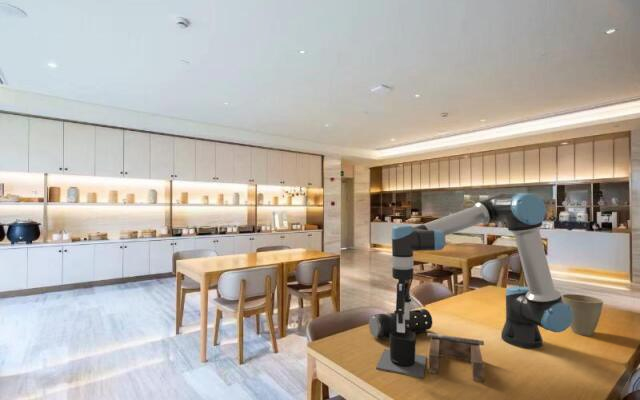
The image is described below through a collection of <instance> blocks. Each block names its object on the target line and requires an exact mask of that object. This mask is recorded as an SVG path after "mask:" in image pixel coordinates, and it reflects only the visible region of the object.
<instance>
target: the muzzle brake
mask: <svg viewBox="0 0 640 400" xmlns="http://www.w3.org/2000/svg"><path fill="white" fill-rule="evenodd" d="M432 327H433V318H432V314H431V313H430V311H429V310H428V309H425V308H421V309H420V308H419V309H414V310H409V320H406V319H405V330H408V331H411V332H413V333H415V334H417V333H423V332H426V331H427V330H431V328H432ZM368 328H369V329H368V330H369V331H370V334H371V335H372V336H373V337H375V338H376V337H377V338H380V339H381V338H386V337H389V338H390V333H393V332H394V331H396V330H397V314H395V313H394V312H390V313H386V314H385V313H379V314H378V313H377V314H374V315H373V316H370V318H369V320H368Z"/></svg>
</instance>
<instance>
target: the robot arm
mask: <svg viewBox="0 0 640 400" xmlns="http://www.w3.org/2000/svg"><path fill="white" fill-rule="evenodd" d="M546 215H547V207H546V203H545V202H544V201H543V199H542V198H541V197H540V196H538V195H537V194H534V193H529V192H527V193H526V192H517V193H502V194H498V195H495V196H492V197H489V198H487V199H484V200H481V201H479V202H476V203H475V204H474V206H472V207H469V208H466V209H463V210H460V211H458V212H455V213H452V214H449V215H446V216H443V217H439V218H437V219H435V220H432V221H429V222H426V223H423V224H420V225H418V226H417V225H416V226H412V225H408V224H407V225H402V224H400V225H398V224H397V225H394V226H392V229H391V251H392V252H391V253H392V254H391V255H392V256H391V258H390V261H392V264H391V265H392V270H391V271H392V273H391V274H392V278H393V279H395V280H398V282H397V284H396V301H395V310H394V312H393V313H395V314H397V332H402V333H405V319H406V320H409V311H410V303H411V302H412V299H411V296H410V282H409V280H410V281H411V280H413V279H414V269H413V267H414V252H420V251H421V252H423V251H424V252H425V251H427V252H428V251H429V252H431V251H432V252H433V251H434V252H435V251H442V250H443V249H444V248H445V247H446V242H447V241H446V236H449V235H452V234H455V233H457V232H460V231H463V230H466V229H469V228H472V227H474V226H477V225H480V224H482V225H488V224H491V223H497V222H498V223H506V227H507V230H508V232H510V233H512V234H513V235H514V239H515V244H516V249H517V250H518V255H519V260H520V263H521V267H522V271H523V274H524V278H525V282H526V285H527V286H508V287H506V293H505V322H504V325H503V327H502V331H501V336H500V337H501V339H502V341H504V342H505V343H507V344H510V345H512V346H516V347H520V348H524V349H525V348H526V349H540V348H542V347H543V345H544V343H543V337H542V334H541V331H540V329H539V327H540V328H542V329H544V330H546V331H550V332H552V333H563V332H564V331H566V330H568V329H569V327H570V324H571V323H572V321H573V310H572V309H571V307H570V306H568V305H567V304H566V303H563V300H562V294H561V292H560V291H559V290H557V289H556V288H555V286H554V283H553V278H552V277H553V276H552V274H551V271H550V266H549V263H548V259H547V255H546V252H545V248H544V243H543V240H542V235H541V233H540V229H542V227H543V221H544V220H545V219H546Z"/></svg>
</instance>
